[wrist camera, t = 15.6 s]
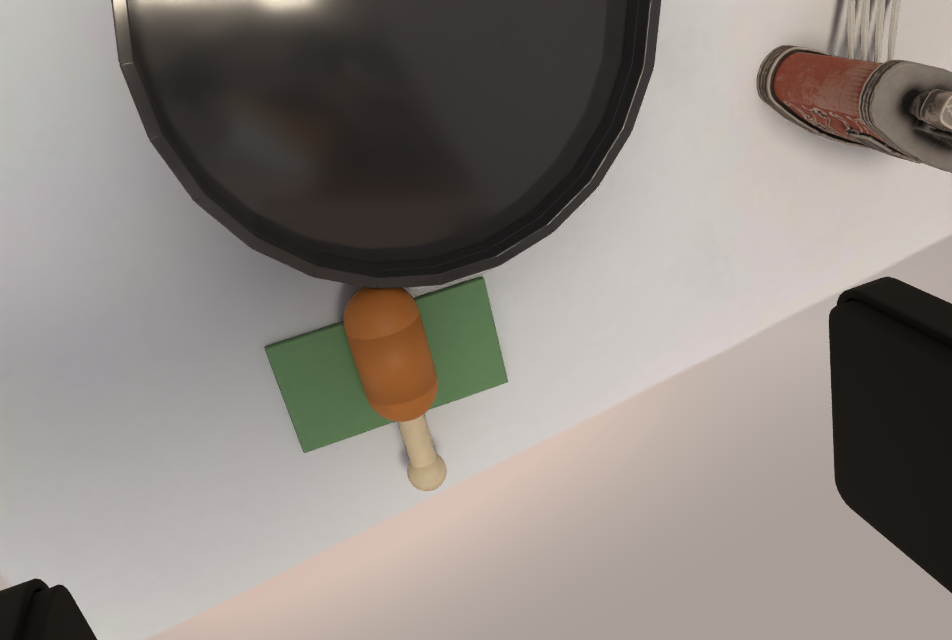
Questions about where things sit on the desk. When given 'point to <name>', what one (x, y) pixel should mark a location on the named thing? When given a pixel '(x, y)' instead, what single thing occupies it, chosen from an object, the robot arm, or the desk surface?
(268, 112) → the pan
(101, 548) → the desk surface
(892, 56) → the fork
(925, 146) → the lighter
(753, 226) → the desk surface
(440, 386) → the napkin
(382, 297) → the drumstick
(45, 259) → the desk surface
